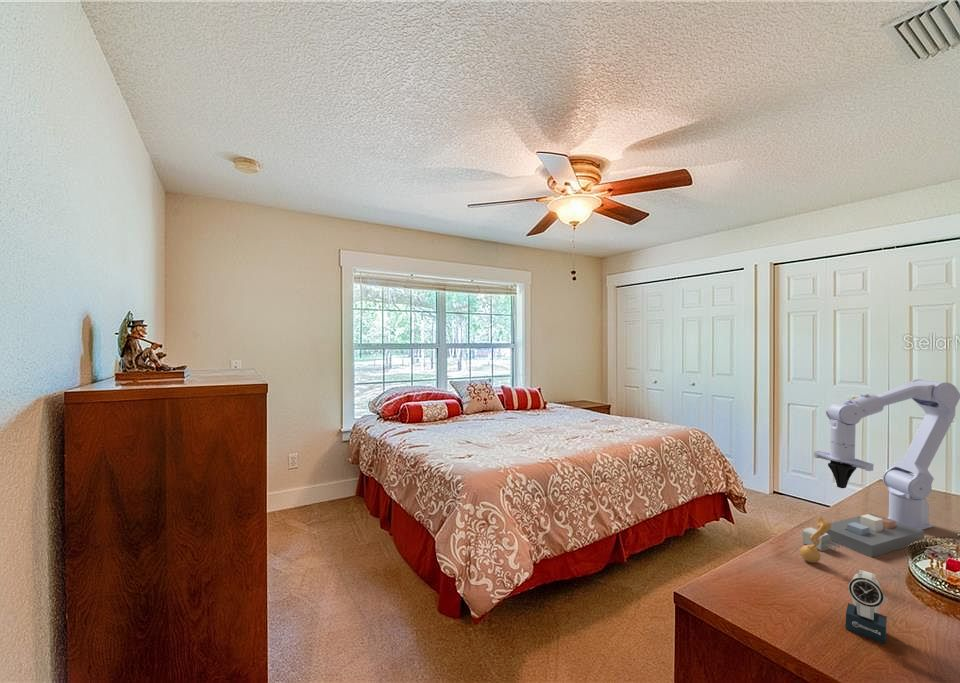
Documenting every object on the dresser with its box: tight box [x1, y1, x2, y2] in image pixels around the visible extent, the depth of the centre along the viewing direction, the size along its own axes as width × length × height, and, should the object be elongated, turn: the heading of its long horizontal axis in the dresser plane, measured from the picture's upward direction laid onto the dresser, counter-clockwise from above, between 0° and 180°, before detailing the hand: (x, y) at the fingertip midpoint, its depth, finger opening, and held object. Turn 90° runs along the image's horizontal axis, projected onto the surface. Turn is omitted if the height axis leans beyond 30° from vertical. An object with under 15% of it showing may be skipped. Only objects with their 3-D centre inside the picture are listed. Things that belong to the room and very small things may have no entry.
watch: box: [845, 569, 888, 645], centre depth 80 cm, size 6×8×11 cm
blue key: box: [847, 522, 870, 536], centre depth 115 cm, size 3×3×4 cm
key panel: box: [826, 513, 925, 558], centre depth 117 cm, size 24×12×3 cm, turn 111°
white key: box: [859, 513, 883, 533], centre depth 117 cm, size 3×3×4 cm
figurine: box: [799, 516, 831, 564], centre depth 104 cm, size 8×6×12 cm
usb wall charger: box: [802, 527, 840, 552], centre depth 111 cm, size 4×7×4 cm, turn 23°
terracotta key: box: [877, 515, 895, 529], centre depth 119 cm, size 3×3×4 cm
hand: (841, 487), depth 128 cm, fingers closed
